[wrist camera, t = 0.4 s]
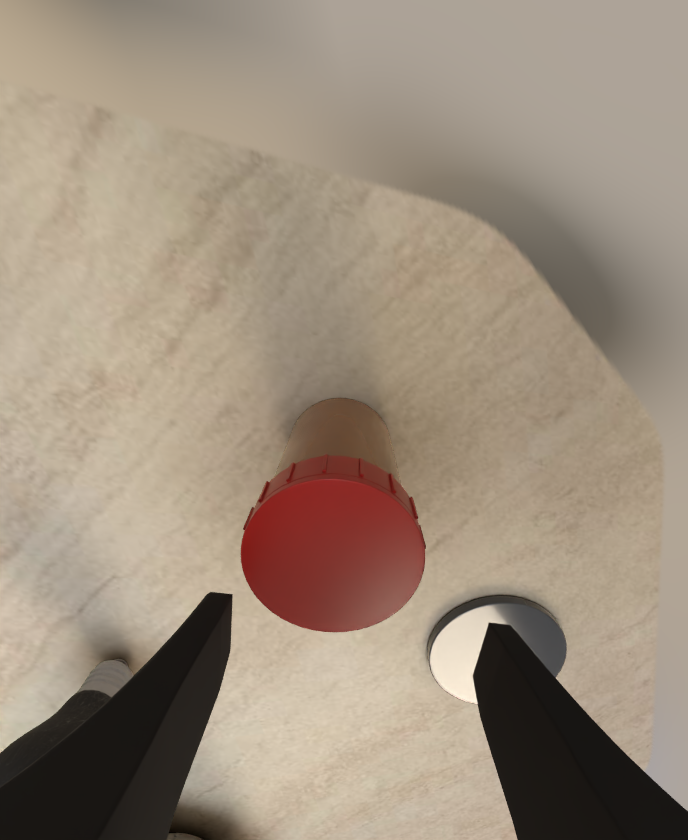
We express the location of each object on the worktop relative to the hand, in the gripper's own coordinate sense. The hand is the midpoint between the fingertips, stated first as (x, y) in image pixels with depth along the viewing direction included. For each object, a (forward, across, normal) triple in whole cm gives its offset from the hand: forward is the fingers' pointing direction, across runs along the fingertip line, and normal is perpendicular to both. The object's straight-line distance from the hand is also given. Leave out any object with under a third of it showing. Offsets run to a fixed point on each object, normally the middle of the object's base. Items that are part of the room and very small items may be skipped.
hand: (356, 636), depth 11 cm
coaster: (+10, -10, +10) cm, 18 cm away
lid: (+2, +1, -1) cm, 2 cm away
